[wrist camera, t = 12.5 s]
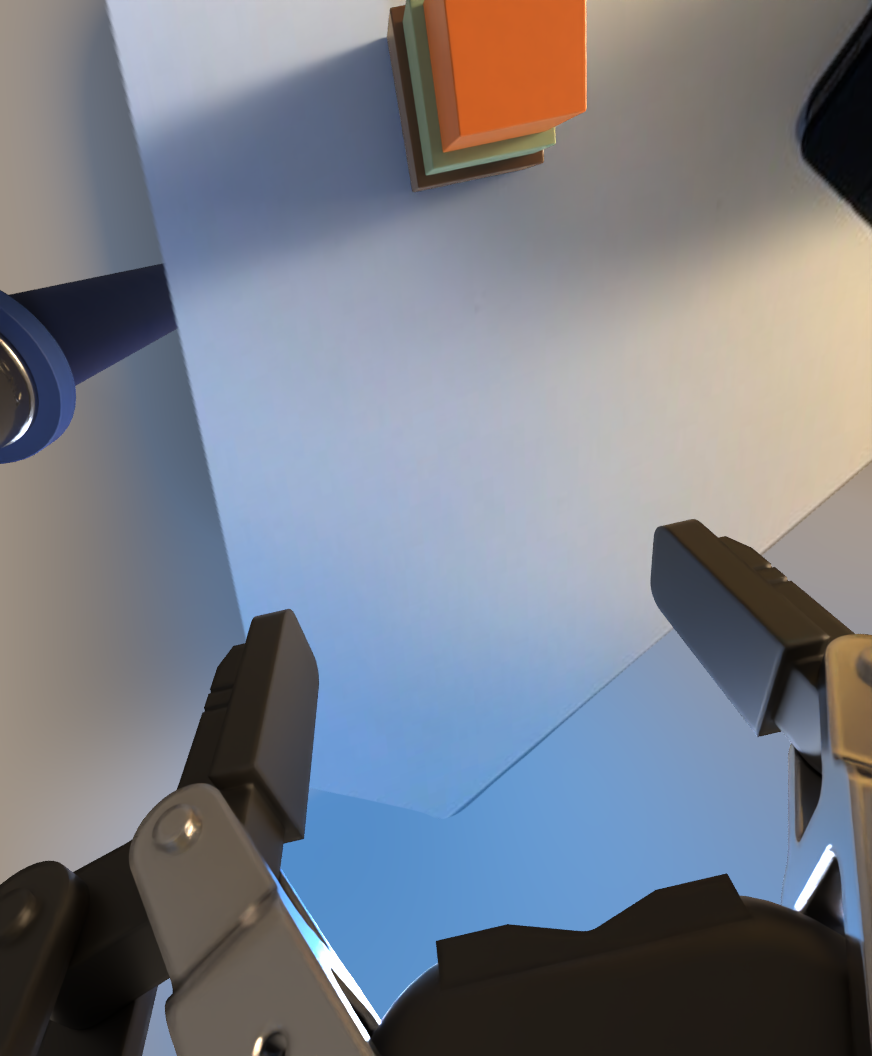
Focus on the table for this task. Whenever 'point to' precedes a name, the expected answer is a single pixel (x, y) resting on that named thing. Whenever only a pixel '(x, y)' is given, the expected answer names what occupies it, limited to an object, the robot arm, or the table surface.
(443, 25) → the toy cube
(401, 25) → the walnut block
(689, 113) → the table surface
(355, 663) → the table surface
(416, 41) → the green block
